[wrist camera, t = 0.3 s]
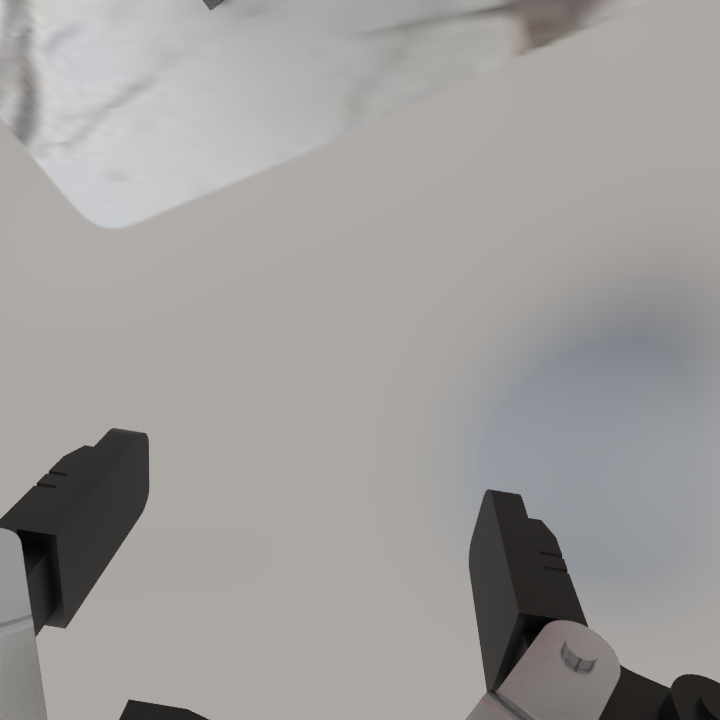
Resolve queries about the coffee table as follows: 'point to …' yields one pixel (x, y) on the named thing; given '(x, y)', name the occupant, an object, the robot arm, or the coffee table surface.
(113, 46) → the coffee table surface
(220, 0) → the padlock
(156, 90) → the coffee table surface
